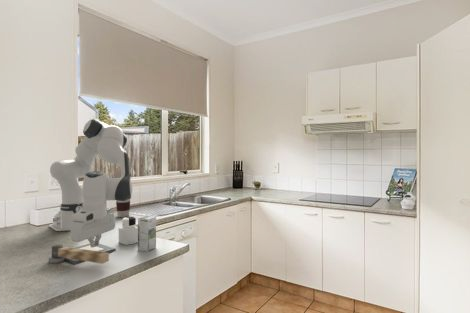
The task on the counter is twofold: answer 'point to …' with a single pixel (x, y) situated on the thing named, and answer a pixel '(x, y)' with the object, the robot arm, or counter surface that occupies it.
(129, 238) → the medicine bottle
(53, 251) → the swing arm
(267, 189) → the counter surface
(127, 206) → the coffee cup
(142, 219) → the syrup box
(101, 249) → the label board
